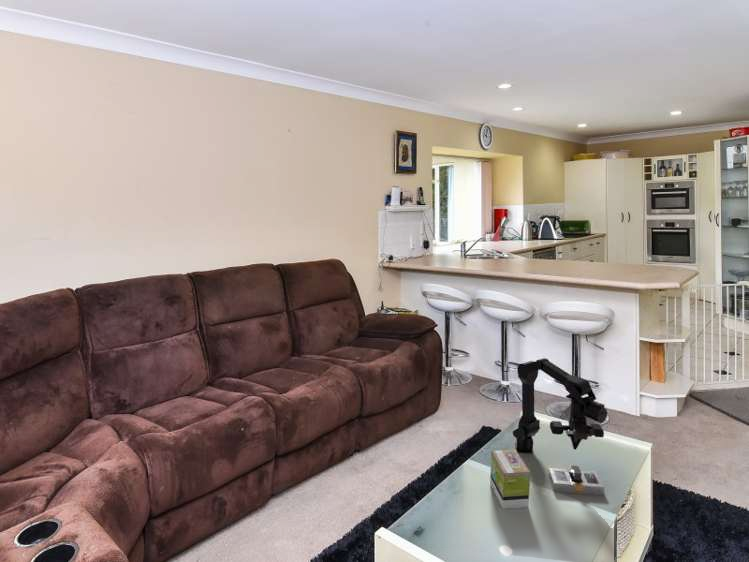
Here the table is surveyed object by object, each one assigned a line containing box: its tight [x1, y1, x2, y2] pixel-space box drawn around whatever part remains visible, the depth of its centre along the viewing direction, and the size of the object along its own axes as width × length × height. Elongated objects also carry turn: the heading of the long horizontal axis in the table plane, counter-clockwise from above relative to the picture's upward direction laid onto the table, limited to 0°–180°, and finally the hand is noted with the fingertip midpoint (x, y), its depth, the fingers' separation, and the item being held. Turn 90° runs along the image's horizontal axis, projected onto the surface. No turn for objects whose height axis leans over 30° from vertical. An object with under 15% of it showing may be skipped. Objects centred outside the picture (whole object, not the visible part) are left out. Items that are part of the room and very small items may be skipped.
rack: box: [547, 467, 605, 496], centre depth 192 cm, size 18×10×4 cm, turn 82°
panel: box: [570, 465, 582, 483], centre depth 192 cm, size 2×5×6 cm, turn 172°
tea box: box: [489, 448, 531, 510], centre depth 185 cm, size 15×10×15 cm, turn 5°
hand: (574, 449), depth 195 cm, fingers closed
